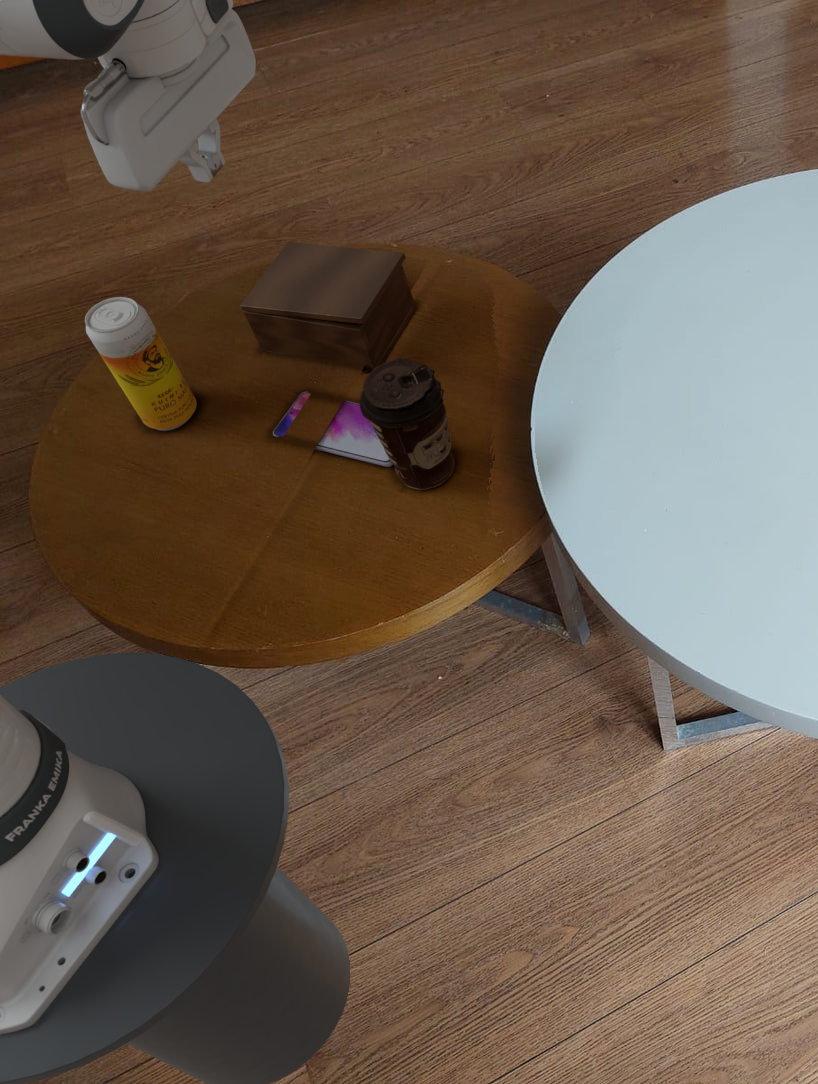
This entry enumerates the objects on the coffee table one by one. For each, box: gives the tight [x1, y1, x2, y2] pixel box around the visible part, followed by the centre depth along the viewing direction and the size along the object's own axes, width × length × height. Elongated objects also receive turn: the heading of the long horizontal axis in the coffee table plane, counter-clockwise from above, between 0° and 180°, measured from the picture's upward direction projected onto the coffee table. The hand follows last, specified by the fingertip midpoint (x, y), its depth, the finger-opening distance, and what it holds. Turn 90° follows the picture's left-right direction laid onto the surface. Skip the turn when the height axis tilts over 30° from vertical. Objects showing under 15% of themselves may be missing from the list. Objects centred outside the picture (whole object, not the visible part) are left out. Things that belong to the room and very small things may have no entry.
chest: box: [242, 264, 417, 374], centre depth 130 cm, size 15×12×7 cm
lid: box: [240, 241, 406, 324], centre depth 127 cm, size 15×12×1 cm
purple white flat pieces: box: [272, 391, 394, 468], centre depth 123 cm, size 7×1×15 cm
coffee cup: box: [359, 358, 455, 491], centre depth 115 cm, size 9×8×13 cm
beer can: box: [84, 296, 198, 432], centre depth 120 cm, size 6×6×15 cm
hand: (211, 173), depth 104 cm, fingers closed
